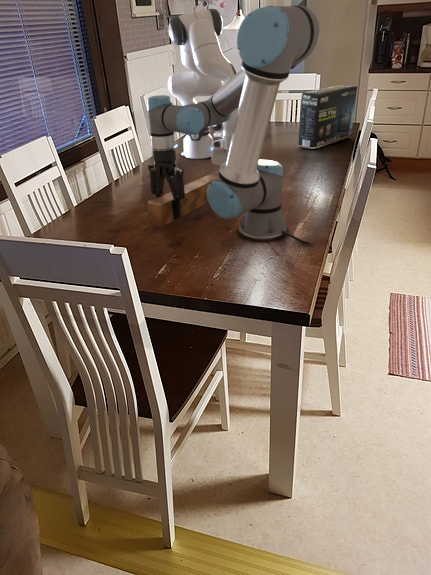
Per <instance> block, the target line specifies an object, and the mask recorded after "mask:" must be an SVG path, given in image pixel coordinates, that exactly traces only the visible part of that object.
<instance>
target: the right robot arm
mask: <svg viewBox="0 0 431 575" xmlns="http://www.w3.org/2000/svg"><path fill="white" fill-rule="evenodd" d="M320 37H321V27H320V22H319V19H318V17H317V16H316V14H315V13H314V12H313V11H312V10H311V9H310V8H308V7H306V6H304V5H266V6H263V7H259V8H255V9H253V10H251V12H250V13H247V15H245V17H244V19H243V20H242V21H241V22H240V25H239V28H238V31H237V35H236V49H237V50H238V51H239V52H238V55H239V58H240V59H241V64H240V65H241V66H240V67H241V69H240V70H239V71H238V72H236V73H237V74H236V75H235V76H233V77H232V78H231V79H230V80H229V81H228V82H227V83H226V84H225V83H224V84H223V86H222V87H221V88H220V89H219V90H218V91H217V92H216V93H215V94H214V95H211V96H209V98H208V99H206V100H203V101H198V102H197V103H194V104H189V105H185V106H182V105H176V104H173V101H172V97H171V96H170V95H164V94H161V95H152V96H149V97H148V98H147V101H146V103H147V104H146V105H147V106H146V107H147V111H146V112H147V117H148V127H149V135H150V145H151V148H152V150H151V156H152V161H153V162H154V163H151V164H148V165H147V169H148V172H149V180H150V181H149V182H150V193H151V194H152V195H155V198H159V197H161V196H163V195H165V192H164V186H165V180H166V181H167V182H168V185H169V189H170V192H172V196H173V199H174V200H172V208H173V219H176V220H178V219H180V218H181V217H180V208H181V205H180V200H181V199H183V198H185V192H184V186H185V185H184V173H185V172H184V168H178V167H177V164H176V161H177V151H176V148H174V146H175V145H176V138H175V133H179V134H183V135H189V134H192V135H195V134H198V133H199V132H200V131H201V130H202V128H206V127H210V126H214V125H219V124H222V123H224V122H226V121H228V120H229V119H230V116H231V114H232V112H233V111H234V110H236V109H237V108H238V107H239V108H238V112H237V117H236V121H235V126H234V131H233V135H232V140H231V144H230V149H229V153H228V158H227V162H225V163H223V164H222V165H219V169H218V170H219V174H218V178H217V180H214V181H213V182H211V183H210V184H209V186H208V188H207V199H208V205H209V206H210V208H211V210H212V211H213V213H215V215H217V217H219V218H221V219H225V220H231V219H235V218H238V217H240V216H241V215H242V216H241V220H240V221H239V224H238V225H239V226H238V232H239V235H240V236H241V237H242V238H244V239H247V240H250V241H254V242H271V241H277V240H279V239H281V238H283V237H285V235H286V236H288V237H290V238H292V239H293V240H296V241H297V242H299V243H302V244H305V245H310V243H311V242H310V241H308V240H307V241H306V240H303V239H300V238H298V237H297V236H295V235H293V234H291V233H289V232H287V223H286V221H285V216H284V214H283V210H282V200H283V182H284V180H283V179H284V169H283V165H282V164H281V163H280V162H278V161H274V160H270V159H260V158H261V155H262V151H263V147H264V144H265V140H266V137H267V133H268V129H269V125H270V122H271V119H272V118H271V117H272V114H273V111H274V108H275V103H276V99H277V96H278V92H279V88H280V85H281V83H283V82H284V81H286V80H287V79H288V78H289V75H290V72H291V70H293V69H294V68H296V67H297V66H298V65H300V64H301V63H302V62H303V61H304V60H306V59H308V57H310V56H311V54H312V53H314V51H315V50H316V48H317V47H318V44H319V42H320ZM210 128H211V127H210ZM179 217H180V218H179ZM177 218H178V219H177Z"/></svg>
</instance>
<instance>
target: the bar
mask: <svg viewBox="0 0 431 575" xmlns="http://www.w3.org/2000/svg"><path fill="white" fill-rule="evenodd" d="M218 174H219V169H218V170H216V171H214V172H211V173H209V174H207V175H205V176H203V177H201V178H198V179H196V180H194V181H191V182H189V183H187V184H185V185H184V192H185V198H183V199H181V200H180V205H181V208H180V217H179V218H177V219H173V208H172V200H174V199H173V196H172V192H171V191H169V192H168V193H164V194H162V195H163V196H161V197H159V198H157V197H155V198H154V199H152V200H150V201H148V202H147V203H146V206H147V213H148V214H147V215H148V222H149V225H150V224H151V225H154V226H158V227H161V228H163V227H165V226H166V225H168V224H171V223H172V222H174V221H176V220H178V219H180V218H182V217H183V216H186V215H187V214H189V213H191V212H193V211H195V210H197V209H199V208H200V207H203V206H204V205H207V204H209V202H208V199H207V188H208V186H209V184H210V183H211V182H213V181H214V180H217V178H218Z"/></svg>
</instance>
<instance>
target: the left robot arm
mask: <svg viewBox="0 0 431 575" xmlns="http://www.w3.org/2000/svg"><path fill="white" fill-rule="evenodd" d="M223 27H224V21H223V18H222V16H221V13H220V12H219V10H218V9H216V8H208V9H201V10H193V11H190V12H187V13H184V14H180V15H175V16H173V17H171V18H170V20H169V21H168V28H167V30H168V36H169V38H170V40H171V42H172V43H173V44H174V45H175V46H179V50H180V51H179V53H180V60H181V63H182V65H183V66H184V68H186V69H187V71H186V70H183V71H178V72H174V73H171V74H170V75H169V77H168V79H167V88H168V91H169V92H170V94H171V95H172V96H173V97H174V98H176V99H177V100H178V101H179V102H180V104H181V106H185V105H189V104H194V103H198V102H197V100H196V99H195V98H196V97H212V96H213V95H214V94H215V93H216V92H217V91H218V90H219V89H220V88H221V87H222V86H224V85H225V84H226V83H227V82H228V81H229V80H230V79H231V78H232V77H233V76H235V75H236V74H237V73H238V72H237V71H236V69H235V67H234V65H233V63H232V62H231V61H229V60H228V59H227V58H226V57H225V55H224V53H223V52H222V49H221V44H220V42H219V39H218V38H219V37H220V36H221V35H222V33H223V29H224V28H223ZM238 108H239V107H238ZM238 108H237V109H236V110H234V111H233V112H232V114H231V116H230V119H229V120H228V121H226V122H224V123H222V124H219V125H214V126H210V127H206V128H202V130H201V131H200V132H199V133H198V134H195V135H192V134H189V135H186V134H185V135H186V136H184V138H183V151H182V152H181V153H180V155H181V156H182V157H185V158H188V159H193V160H194V159H195V160H200V159H208V158H211V162H212V164H213V165H216V166H221V165H222V164H223V163H225V162H227V158H228V153H229V149H230V144H231V140H232V135H233V131H234V126H235V121H236V117H237V112H238ZM211 129H212V130H213V131H214V132H217V131H223V138H220V139H218V140H217V139H215V140H214V137H213V136H212V134H211ZM177 147H178V144H175V146H174V148H175V149H176V148H177Z"/></svg>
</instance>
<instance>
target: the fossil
mask: <svg viewBox="0 0 431 575" xmlns="http://www.w3.org/2000/svg"><path fill="white" fill-rule="evenodd" d="M212 135H213V138H215V137H220V138H223V131H214V132H213V134H212ZM217 139H219V138H215V140H217Z"/></svg>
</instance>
